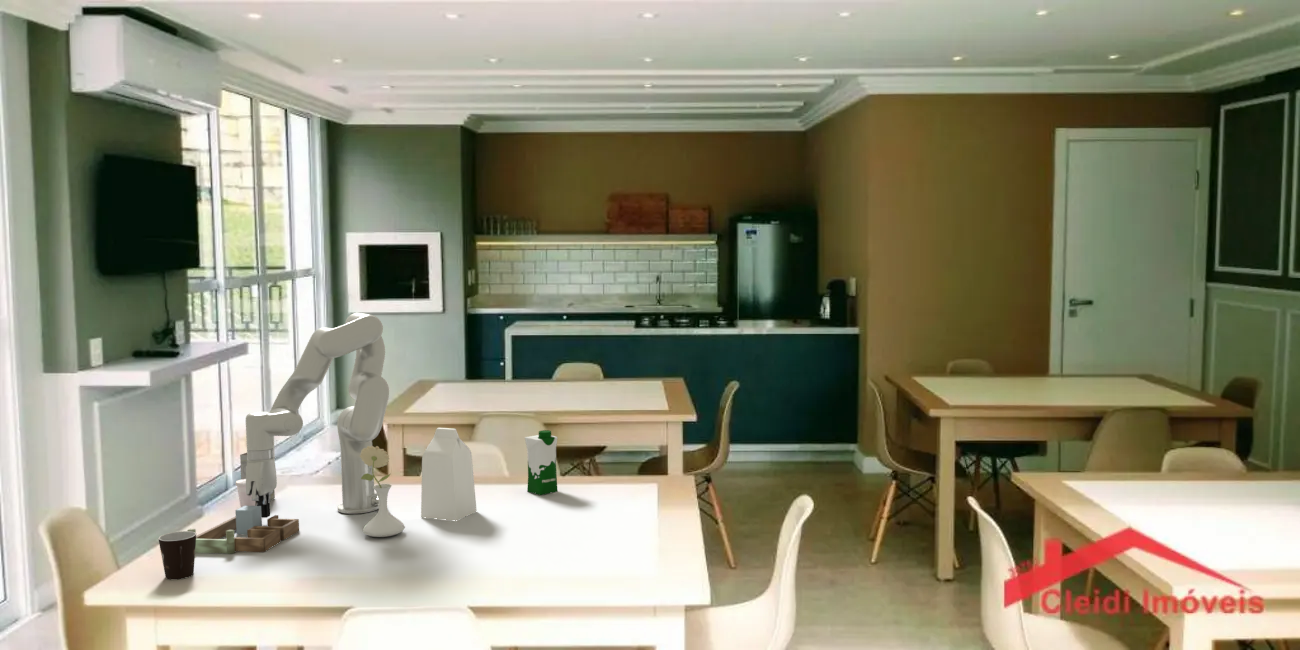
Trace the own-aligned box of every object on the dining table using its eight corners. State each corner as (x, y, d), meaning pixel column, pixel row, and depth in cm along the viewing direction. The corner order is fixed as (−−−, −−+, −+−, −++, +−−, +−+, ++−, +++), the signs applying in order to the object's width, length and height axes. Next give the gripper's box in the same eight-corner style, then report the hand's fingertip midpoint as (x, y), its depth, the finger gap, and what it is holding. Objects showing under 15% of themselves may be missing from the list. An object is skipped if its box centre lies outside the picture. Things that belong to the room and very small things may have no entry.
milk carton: (539, 496, 339) (538, 434, 338) (523, 491, 346) (521, 430, 344) (561, 491, 345) (560, 430, 343) (544, 487, 352) (543, 426, 350)
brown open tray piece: (304, 527, 307) (304, 507, 307) (259, 554, 282) (258, 532, 281) (238, 526, 310) (237, 505, 310) (187, 552, 285) (185, 530, 284)
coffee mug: (168, 570, 269) (165, 531, 269) (203, 569, 270) (201, 530, 269) (150, 585, 258) (148, 545, 257) (187, 584, 259) (185, 543, 258)
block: (262, 530, 306) (261, 506, 305) (253, 534, 301) (252, 510, 300) (245, 529, 307) (244, 505, 306) (236, 534, 302) (235, 510, 301)
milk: (421, 517, 316) (417, 430, 314) (442, 508, 327) (439, 424, 324) (455, 521, 312) (452, 433, 309) (476, 511, 322) (473, 426, 320)
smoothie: (263, 510, 328) (261, 465, 327) (249, 515, 322) (247, 469, 321) (246, 508, 330) (244, 463, 329) (232, 513, 324) (230, 468, 323)
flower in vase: (413, 531, 302) (410, 443, 299) (387, 542, 291) (383, 451, 289) (376, 526, 307) (372, 440, 305) (349, 537, 297) (345, 448, 295)
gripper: (261, 449, 318) (264, 510, 320) (235, 459, 304) (238, 523, 305) (285, 449, 317) (288, 510, 319) (260, 460, 303) (263, 524, 304)
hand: (263, 516), depth 312 cm, fingers closed
